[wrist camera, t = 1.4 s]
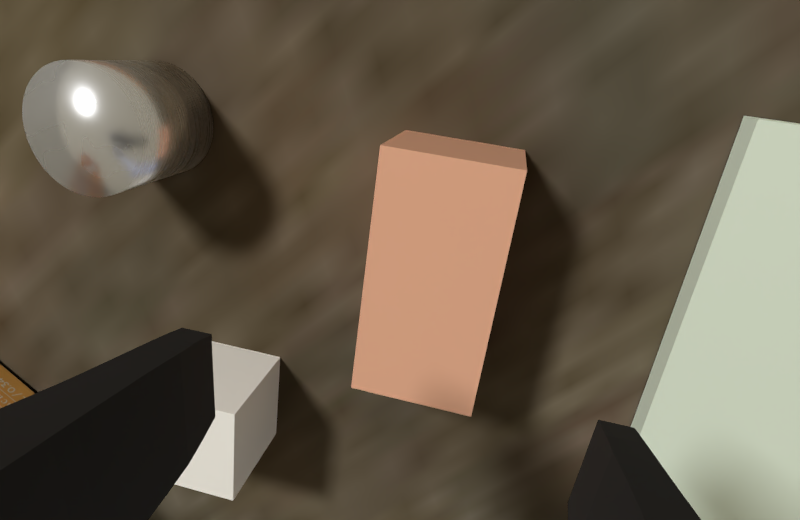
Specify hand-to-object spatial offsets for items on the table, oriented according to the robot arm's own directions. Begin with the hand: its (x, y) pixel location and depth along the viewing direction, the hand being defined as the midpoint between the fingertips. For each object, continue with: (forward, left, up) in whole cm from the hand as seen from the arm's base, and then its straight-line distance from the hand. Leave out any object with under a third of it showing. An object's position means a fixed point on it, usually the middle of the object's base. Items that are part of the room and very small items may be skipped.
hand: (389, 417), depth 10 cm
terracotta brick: (0, 0, -10) cm, 10 cm away
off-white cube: (-8, +8, -10) cm, 15 cm away
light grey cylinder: (+3, +11, -10) cm, 15 cm away
